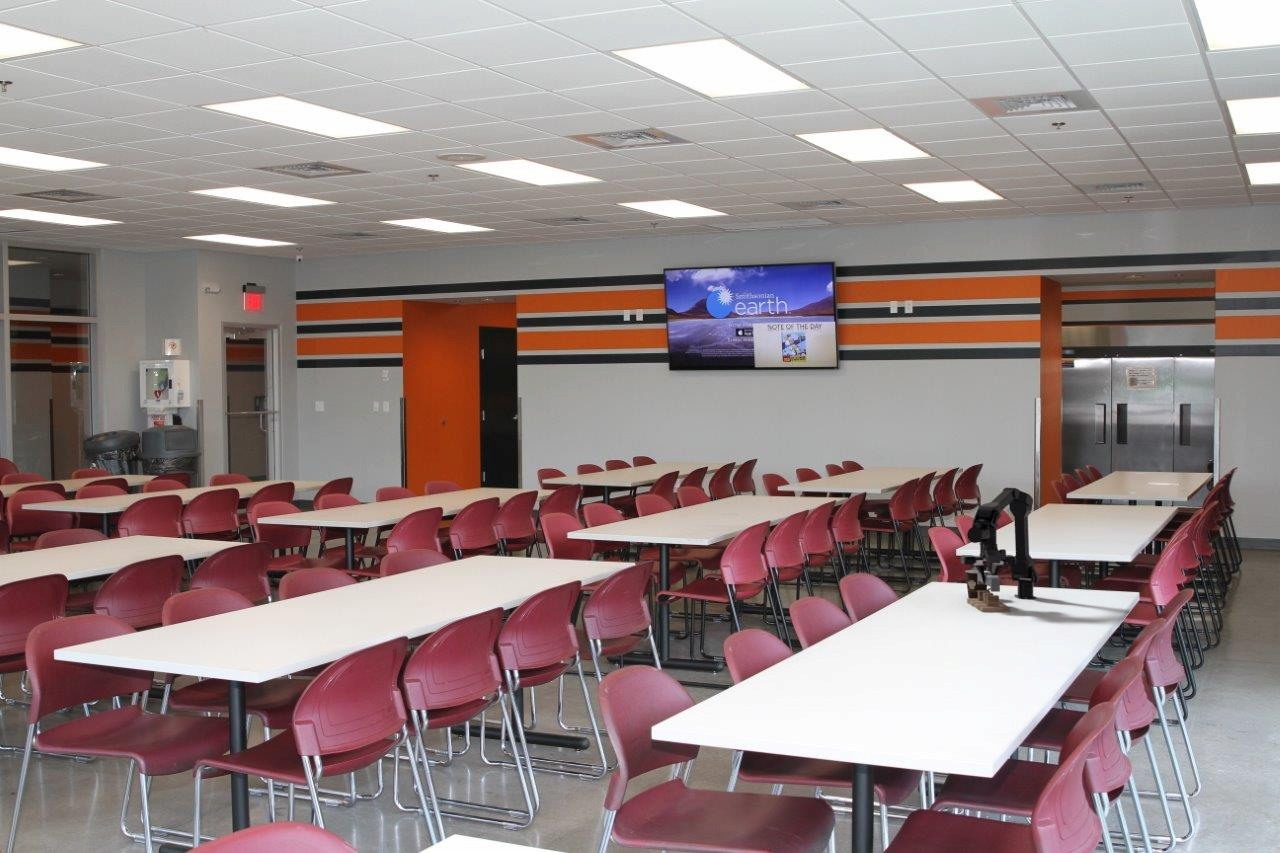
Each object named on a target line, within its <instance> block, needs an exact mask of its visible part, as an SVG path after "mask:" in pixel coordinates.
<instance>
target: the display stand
mask: <svg viewBox="0 0 1280 853" xmlns="http://www.w3.org/2000/svg"><path fill="white" fill-rule="evenodd" d="M966 603H967V604H968V605H971V606H972V607H973V608H975V609H977V610H978V611H980V612H981V613H1008V612H1009V613H1010V612H1011V607H1010V606H1008V605H1006V604H1005V603H1003V602H1001V601H1000V596H999V595H995V594H994V592H991V590H989V591H978V599H970V598H967V599H966Z"/></svg>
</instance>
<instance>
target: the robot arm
mask: <svg viewBox="0 0 1280 853" xmlns="http://www.w3.org/2000/svg"><path fill="white" fill-rule="evenodd" d="M1033 504H1034V499H1033V497H1032V496H1031V494H1029V493H1027V492H1024V491H1022V490H1020V489H1018V488H1017V487H1005V488H1003V490H1002V491H1001V492H1000V493H999V494H998V495H997V496H996V497H995V498H994V499H992V500H991V501H990V502H987V503H983V504H981V505H980V506H978V508H977V510H976V512H975V515H974V518H973V521H972V527H970V528H969V529H968V531H967V533H966V534H967V535H966V536H967V538H968V541H970V542H971V543H973V544H977V543H979V546H980V547H979V548H980V549H979V552H980V553H979V556H978V557H977V556H975V555H972V554H966V555H965V554H963V555H961V557H960V563H961V564H963V565H967V566H968V565H971V566H973V567H975V568H976V570H978V572H979V574H980V577H981V580H982V582H983V584H985V575H984V571H985V564H984V563H986V564H991V575H998V573H999V571H1000V569H1001V568H1003V567H1005V563H1006V564H1007V565H1010V576H1011V580H1012V581H1013V582H1014V581H1015V582H1017V594H1014V597H1016V598H1018V599H1037V596H1035V595H1034V584H1035V583H1039V581H1040V575H1039V573H1038V571H1037V569H1036V567H1035V561H1034V560H1033V558H1032V557H1031V555H1030V543H1029V542H1030V541H1029V539H1030V538H1029V536H1030V535H1029V515H1030V514H1031V512H1032V510H1033ZM1008 506H1009V511H1010V512H1011V514H1012V516H1013V518H1014V542H1015V546H1014V547H1015V548H1014V549H1015V555H1013V554H1007V551H1006V549H1005V548H1003V549H999V548H998V544H997V539H998V538H997V537H998V536H997V528H999V527H1000V526H999V524H998V521H999V519H1000V518H1001V517H1002V511H1003V510H1005V508H1006V507H1008Z"/></svg>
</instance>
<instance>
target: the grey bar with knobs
mask: <svg viewBox="0 0 1280 853" xmlns="http://www.w3.org/2000/svg"><path fill="white" fill-rule="evenodd" d="M984 575H985V584H986V585H987V587H989V588H991V589H990V593H994V592H996V593H997V592H999V593H1000V592H1001V579H1000V578H999V575H998V574H997V575H992V573H991V571H990V570H989V571H988V570H984ZM978 584H983V582H982V580H981V577H980V574H979V572H978Z"/></svg>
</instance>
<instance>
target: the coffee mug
mask: <svg viewBox="0 0 1280 853" xmlns="http://www.w3.org/2000/svg"><path fill="white" fill-rule="evenodd" d="M964 572H965V580H966V581H965V582H966V589H967V595H968V598H967V599H978V591H991V587H988V585H986V584H978V570H977V569H972V570H971V569H969V570H965V571H964Z"/></svg>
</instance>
